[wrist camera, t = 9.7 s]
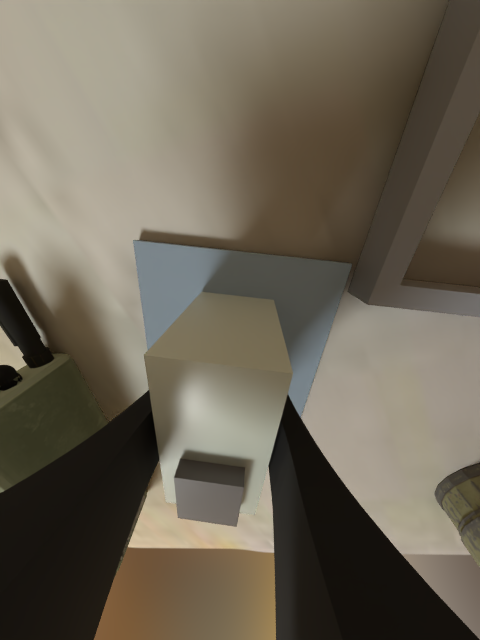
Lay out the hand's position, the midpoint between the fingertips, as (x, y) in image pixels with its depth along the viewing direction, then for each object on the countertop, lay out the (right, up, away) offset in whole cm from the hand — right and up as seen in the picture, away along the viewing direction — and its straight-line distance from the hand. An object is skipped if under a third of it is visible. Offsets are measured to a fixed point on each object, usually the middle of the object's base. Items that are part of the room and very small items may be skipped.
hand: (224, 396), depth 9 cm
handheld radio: (-12, -5, +8) cm, 15 cm away
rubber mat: (0, +2, +3) cm, 4 cm away
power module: (0, +2, +3) cm, 3 cm away
